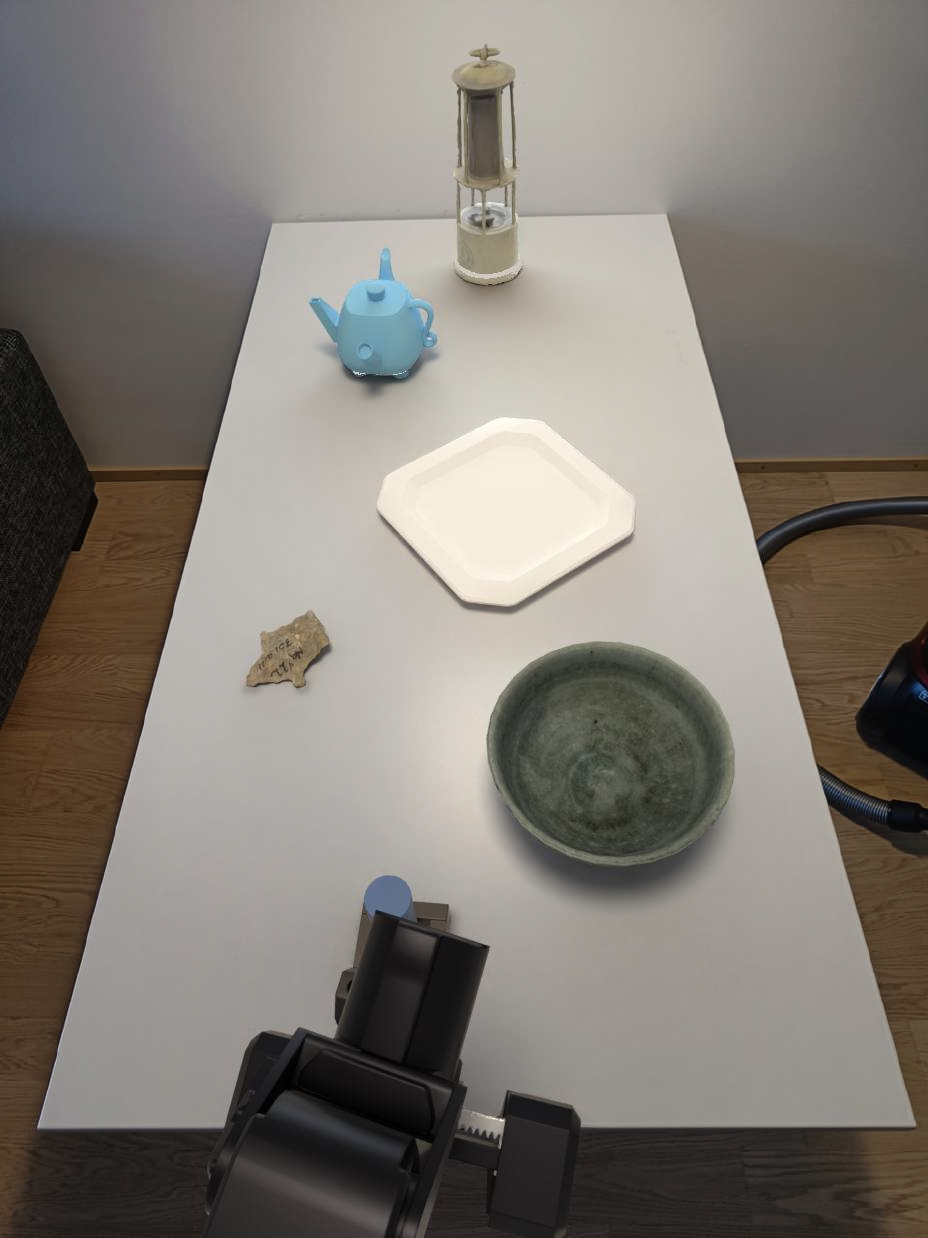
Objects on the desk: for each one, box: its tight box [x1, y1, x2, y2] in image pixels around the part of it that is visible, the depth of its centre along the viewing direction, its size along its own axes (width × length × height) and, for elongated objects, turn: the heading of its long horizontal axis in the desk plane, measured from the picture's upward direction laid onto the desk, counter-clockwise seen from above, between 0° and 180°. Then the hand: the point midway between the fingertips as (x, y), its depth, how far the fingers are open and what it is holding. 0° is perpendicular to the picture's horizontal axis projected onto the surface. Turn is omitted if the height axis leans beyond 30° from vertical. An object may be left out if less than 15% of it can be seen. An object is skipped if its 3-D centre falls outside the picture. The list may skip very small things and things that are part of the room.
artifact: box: [245, 609, 331, 688], centre depth 91 cm, size 7×3×10 cm
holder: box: [352, 900, 451, 968], centre depth 72 cm, size 7×7×3 cm
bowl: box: [485, 640, 736, 868], centre depth 78 cm, size 21×21×10 cm
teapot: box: [308, 247, 438, 380], centre depth 118 cm, size 15×14×11 cm
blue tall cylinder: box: [363, 874, 417, 923], centre depth 68 cm, size 3×3×14 cm
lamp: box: [451, 42, 524, 286], centre depth 124 cm, size 10×13×30 cm
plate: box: [375, 416, 637, 608], centre depth 103 cm, size 25×25×2 cm
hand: (424, 1111), depth 55 cm, fingers open, 9 cm apart
